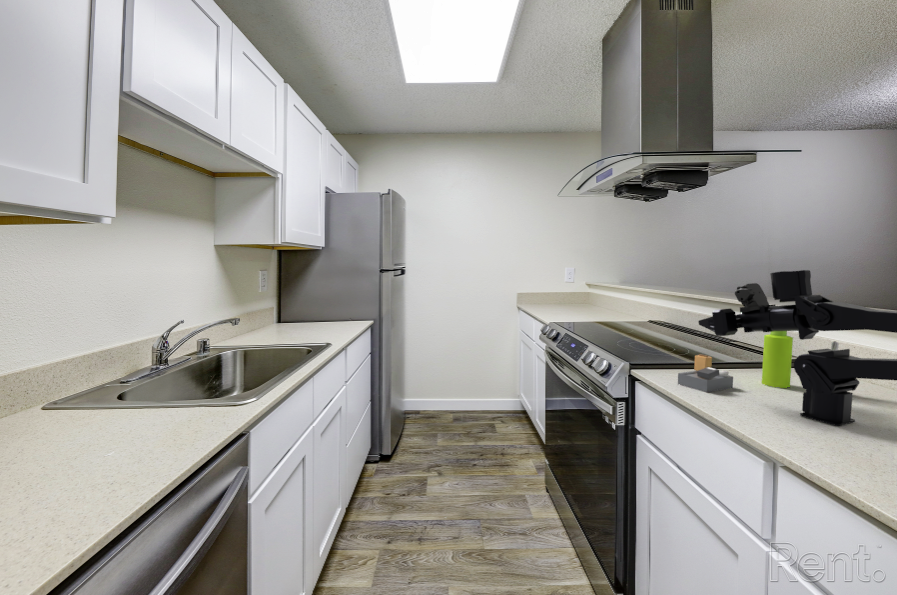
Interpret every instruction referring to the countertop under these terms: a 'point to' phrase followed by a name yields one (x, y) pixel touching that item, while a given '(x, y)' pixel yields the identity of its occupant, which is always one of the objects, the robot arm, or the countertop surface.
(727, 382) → the panel
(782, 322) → the robot arm
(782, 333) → the soap dispenser
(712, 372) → the block
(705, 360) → the orange slider
